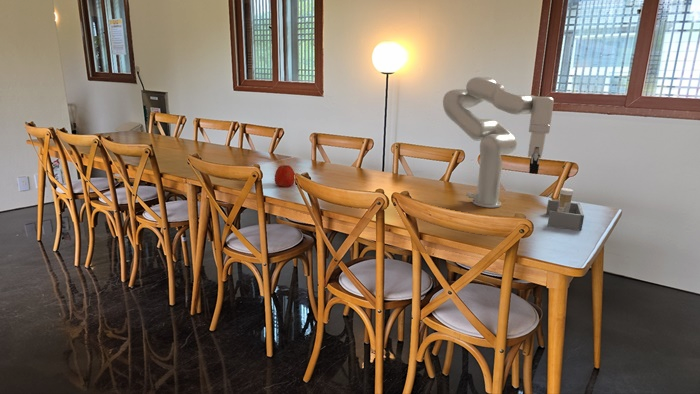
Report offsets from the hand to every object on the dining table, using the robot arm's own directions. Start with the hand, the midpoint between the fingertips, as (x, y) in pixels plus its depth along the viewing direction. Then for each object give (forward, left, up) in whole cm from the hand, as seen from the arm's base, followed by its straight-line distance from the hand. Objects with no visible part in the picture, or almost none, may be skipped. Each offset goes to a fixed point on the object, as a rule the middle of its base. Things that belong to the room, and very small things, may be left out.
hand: (533, 171), depth 179 cm
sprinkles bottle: (+13, 0, -20) cm, 24 cm away
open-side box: (+14, 0, -19) cm, 24 cm away
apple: (-113, -3, -20) cm, 115 cm away
